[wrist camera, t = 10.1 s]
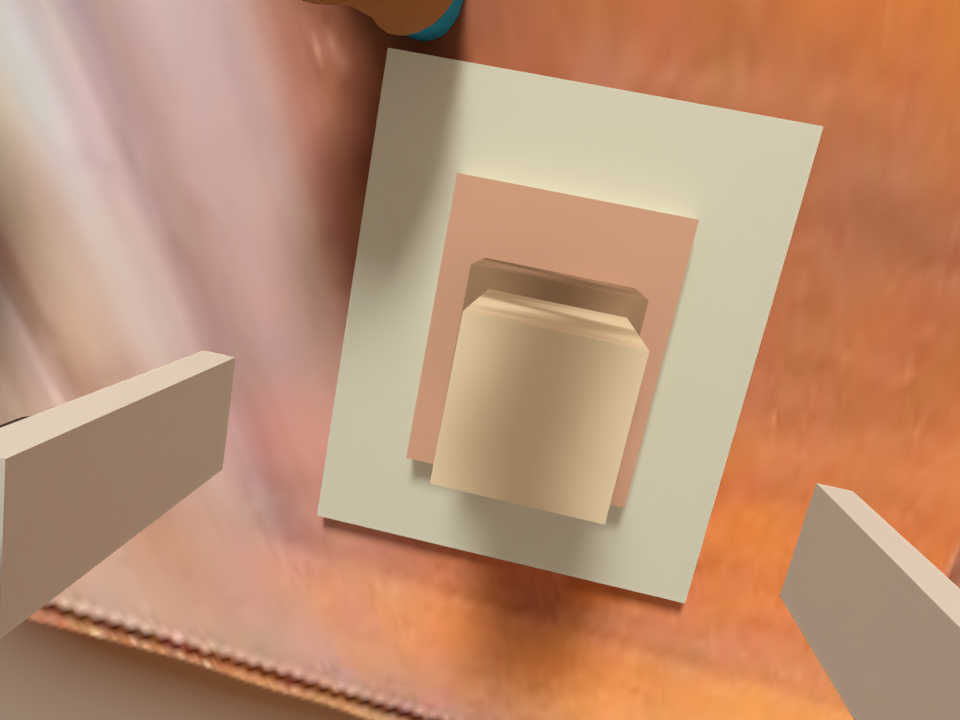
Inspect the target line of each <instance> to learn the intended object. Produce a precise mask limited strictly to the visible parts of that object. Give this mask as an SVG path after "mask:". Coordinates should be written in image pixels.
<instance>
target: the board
mask: <svg viewBox="0 0 960 720" xmlns="http://www.w3.org/2000/svg"><path fill="white" fill-rule="evenodd" d="M822 130H823V126H818V125H813V124H807V123H802V122H796V121H791V120H785V119H780V118H774V117H769V116H763V115H758V114H752V113H747V112H741V111H735V110H730V109H724V108H719V107H713V106H708V105H702V104H697V103H691V102H686V101H680V100H675V99H669V98H664V97H658V96H653V95H647V94H642V93H636V92H631V91H625V90H619V89H614V88H608V87H603V86H597V85H592V84H586V83H581V82H575V81H570V80H564V79H559V78H553V77H548V76H542V75H537V74H531V73H526V72H520V71H515V70H509V69H503V68H498V67H492V66H487V65H481V64H476V63H470V62H465V61H459V60H454V59H448V58H443V57H437V56H432V55H426V54H421V53H415V52H410V51H404V50H399V49H393V48H388V50H387V56H386V63H385V70H384V76H383V83H382V89H381V96H380V103H379V109H378V116H377V122H376V129H375V136H374V142H373V149H372V155H371V162H370V169H369V175H368V182H367V189H366V195H365V202H364V208H363V215H362V222H361V228H360V235H359V241H358V248H357V255H356V261H355V268H354V274H353V281H352V288H351V294H350V301H349V308H348V314H347V321H346V327H345V334H344V341H343V347H342V354H341V360H340V367H339V374H338V380H337V387H336V393H335V400H334V407H333V413H332V420H331V426H330V433H329V440H328V446H327V453H326V460H325V466H324V473H323V479H322V486H321V493H320V499H319V506H318V512H317V516H321V517H325V518H329V519H334V520H338V521H342V522H346V523H350V524H354V525H359V526H363V527H367V528H371V529H375V530H380V531H384V532H388V533H392V534H396V535H401V536H405V537H409V538H413V539H417V540H421V541H426V542H430V543H434V544H438V545H442V546H447V547H451V548H455V549H459V550H463V551H467V552H472V553H476V554H480V555H484V556H488V557H493V558H497V559H501V560H505V561H509V562H513V563H518V564H522V565H526V566H530V567H534V568H539V569H543V570H547V571H551V572H555V573H559V574H564V575H568V576H572V577H576V578H580V579H585V580H589V581H593V582H597V583H601V584H605V585H610V586H614V587H618V588H622V589H626V590H631V591H635V592H639V593H643V594H647V595H651V596H656V597H660V598H664V599H668V600H672V601H677V602H681V603H685V602H686V598H687V595H688V592H689V588H690V585H691V581H692V578H693V574H694V571H695V567H696V564H697V561H698V557H699V554H700V550H701V547H702V543H703V540H704V536H705V533H706V530H707V526H708V523H709V519H710V516H711V512H712V509H713V505H714V502H715V499H716V495H717V492H718V488H719V485H720V481H721V478H722V474H723V471H724V467H725V464H726V461H727V457H728V454H729V450H730V447H731V443H732V440H733V436H734V433H735V430H736V426H737V423H738V419H739V416H740V412H741V409H742V405H743V402H744V399H745V395H746V392H747V388H748V385H749V381H750V378H751V374H752V371H753V368H754V364H755V361H756V357H757V354H758V350H759V347H760V343H761V340H762V336H763V333H764V330H765V326H766V323H767V319H768V316H769V312H770V309H771V305H772V302H773V299H774V295H775V292H776V288H777V285H778V281H779V278H780V274H781V271H782V268H783V264H784V261H785V257H786V254H787V250H788V247H789V243H790V240H791V237H792V233H793V230H794V226H795V223H796V219H797V216H798V212H799V209H800V206H801V202H802V199H803V195H804V192H805V188H806V185H807V181H808V178H809V174H810V171H811V168H812V164H813V161H814V157H815V154H816V150H817V147H818V143H819V140H820V137H821V133H822ZM484 258H489V259H494V260H499V261H504V262H509V263H514V264H519V265H524V266H528V267H533V268H538V269H543V270H548V271H553V272H558V273H563V274H568V275H573V276H578V277H583V278H587V279H592V280H597V281H602V282H607V283H612V284H617V285H622V286H627V287H632V288H636V289H637V290H638V291H639V292H640V293H641V294H642V295H643V296H644V297H645V298H647V299H648V300H649V301H648V305H647V309H646V313H645V317H644V321H643V325H642V329H641V333H640V338H641V339H642V341H643V342H644V344H645V345H646V347H647V348H648V350H649V355H648V359H647V363H646V367H645V370H644V374H643V378H642V382H641V386H640V390H639V394H638V398H637V402H636V405H635V409H634V413H633V417H632V421H631V425H630V429H629V433H628V437H627V440H626V444H625V448H624V452H623V456H622V460H621V464H620V468H619V472H618V475H617V479H616V483H615V487H614V491H613V495H612V499H611V503H610V506H609V510H608V514H607V518H606V522H605V525H604V524H600V523H595V522H591V521H587V520H583V519H578V518H574V517H570V516H566V515H561V514H557V513H553V512H549V511H544V510H540V509H536V508H532V507H527V506H523V505H519V504H515V503H510V502H506V501H502V500H498V499H493V498H489V497H485V496H481V495H476V494H472V493H468V492H464V491H459V490H455V489H451V488H447V487H442V486H438V485H434V484H430V479H431V474H432V469H433V464H434V459H435V453H436V448H437V443H438V438H439V433H440V426H441V421H442V415H443V410H444V405H445V399H446V394H447V389H448V383H449V378H450V373H451V367H452V362H453V357H454V352H455V346H456V341H457V336H458V330H459V325H460V320H461V314H462V309H463V304H464V299H465V293H466V288H467V283H468V277H469V272H470V267H471V264H472V263H474V262H477V261H479V260H481V259H484Z"/></svg>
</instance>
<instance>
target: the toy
mask: <svg viewBox="0 0 960 720" xmlns="http://www.w3.org/2000/svg"><path fill="white" fill-rule="evenodd" d="M303 1H306V2H310V3H314V4H330V5H344V6H349V7H353V8H355V9H357V10H358V11H360V12H362V13H364V14H366V15H368V16H370V17H371V18H372V19H373V20H374V22H375V23H376V24H377V26H379V27H380V28H381V29H383V30H384V31H385V32H387V33H389V34H393V35H399V36H403V35H406V36H408V37H410V38H412V39H415V40H419V41H430V40H435V39H437V38H439V37H441V36H442V35H443V34H445V33H446V32H447V31H448V30H449V29H450V28H451V26H452V25H453V24H454V22H455V20H456V19H457V17H458V14H459V12H460V10H461V7H462V4H463V0H303Z"/></svg>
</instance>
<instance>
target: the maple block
mask: <svg viewBox="0 0 960 720" xmlns="http://www.w3.org/2000/svg"><path fill="white" fill-rule="evenodd" d="M648 355H649V350H648V348H647V347H646V345H645V344H644V342H643V341H642V339H641V338H640V336H639V335H638V333H637V332H636V330H635V329H634V327H633V326H632V324H631V323H630V321H629V320H628V318H625V317H620V316H616V315H611V314H606V313H601V312H597V311H592V310H587V309H582V308H578V307H573V306H568V305H563V304H559V303H554V302H549V301H544V300H540V299H535V298H530V297H525V296H521V295H516V294H511V293H507V292H502V291H497V290H492V289H488V290H487V291H486V292H484V293H483V294H482V295H481V296H480V297H479V298H477V299H476V300H475V301H474V302H473V303H472V304H471V305H469V306H468V307H467V308H466V309H465V310H464V311H463V313H462V318H461V324H460V329H459V334H458V339H457V344H456V350H455V355H454V360H453V365H452V370H451V376H450V381H449V386H448V391H447V396H446V402H445V407H444V412H443V417H442V422H441V428H440V433H439V438H438V443H437V448H436V453H435V459H434V464H433V469H432V474H431V479H430V484H434V485H438V486H442V487H447V488H451V489H455V490H459V491H464V492H468V493H472V494H476V495H481V496H485V497H489V498H493V499H498V500H502V501H506V502H510V503H515V504H519V505H523V506H527V507H532V508H536V509H540V510H544V511H549V512H553V513H557V514H561V515H566V516H570V517H574V518H578V519H583V520H587V521H591V522H595V523H600V524H604V525H605V522H606V518H607V514H608V510H609V506H610V503H611V499H612V495H613V491H614V487H615V483H616V479H617V475H618V472H619V468H620V464H621V460H622V456H623V452H624V448H625V444H626V440H627V437H628V433H629V429H630V425H631V421H632V417H633V413H634V409H635V405H636V402H637V398H638V394H639V390H640V386H641V382H642V378H643V374H644V370H645V367H646V363H647V359H648Z"/></svg>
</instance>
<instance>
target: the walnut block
mask: <svg viewBox="0 0 960 720" xmlns="http://www.w3.org/2000/svg"><path fill="white" fill-rule="evenodd" d="M488 289H492V290H497V291H502V292H507V293H511V294H516V295H521V296H525V297H530V298H535V299H540V300H544V301H549V302H554V303H559V304H563V305H568V306H573V307H578V308H582V309H587V310H592V311H597V312H601V313H606V314H611V315H616V316H620V317H625V318H628V320H629V321H630V323H631V324H632V326H633V327H634V329H635V330H636V332H637V333H638V335H639V336H640V333H641V329H642V325H643V321H644V317H645V313H646V309H647V305H648V301H649V300H648V299H647V298H645V297H644V296H643V295H642V294H641V293H640V292H639V291H638V290H637V289H636V288H632V287H627V286H622V285H617V284H612V283H607V282H602V281H597V280H592V279H587V278H583V277H578V276H573V275H568V274H563V273H558V272H553V271H548V270H543V269H538V268H533V267H528V266H524V265H519V264H514V263H509V262H504V261H499V260H494V259H489V258H484V259H481V260H479V261H477V262H474V263H472V264H471V267H470V272H469V277H468V283H467V288H466V293H465V299H464V304H463V309H462V313H463V311H464V310H465V309H466V308H467V307H468V306H469V305H471V304H472V303H473V302H474V301H475V300H476V299H477V298H479V297H480V296H481V295H482V294H483V293H484V292H486V291H487V290H488ZM461 318H462V314H461ZM460 324H461V320H460ZM459 329H460V325H459ZM458 334H459V330H458ZM457 339H458V336H457ZM456 344H457V341H456ZM455 350H456V346H455ZM454 355H455V352H454ZM453 360H454V357H453ZM452 365H453V362H452ZM451 370H452V367H451ZM450 376H451V373H450ZM449 381H450V378H449ZM448 386H449V383H448ZM447 391H448V389H447ZM446 396H447V394H446ZM445 402H446V399H445ZM444 407H445V405H444ZM443 412H444V410H443ZM442 417H443V415H442ZM441 422H442V421H441ZM440 428H441V426H440Z"/></svg>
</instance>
